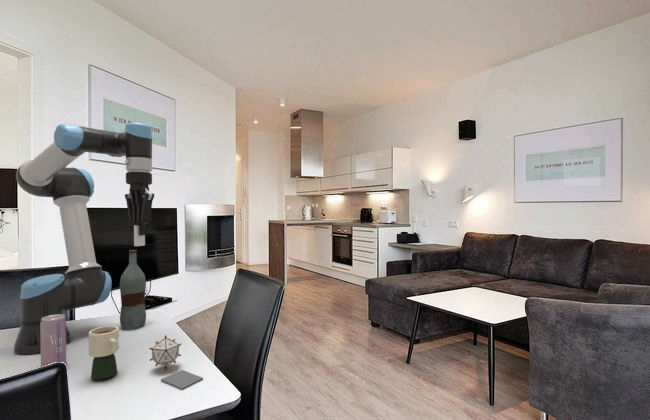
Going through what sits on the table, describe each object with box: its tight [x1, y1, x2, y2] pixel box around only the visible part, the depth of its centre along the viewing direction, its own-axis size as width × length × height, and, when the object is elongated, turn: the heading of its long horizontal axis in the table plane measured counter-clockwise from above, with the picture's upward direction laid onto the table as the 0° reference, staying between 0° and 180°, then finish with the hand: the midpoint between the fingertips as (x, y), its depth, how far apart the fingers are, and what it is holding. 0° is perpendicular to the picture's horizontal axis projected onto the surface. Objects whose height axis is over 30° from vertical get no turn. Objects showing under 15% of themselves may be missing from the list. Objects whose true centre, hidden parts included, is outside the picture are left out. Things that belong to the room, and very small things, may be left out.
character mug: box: [88, 325, 120, 381], centre depth 100 cm, size 11×7×13 cm, turn 60°
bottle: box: [119, 249, 147, 331], centre depth 142 cm, size 9×9×30 cm
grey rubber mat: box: [160, 369, 204, 391], centre depth 97 cm, size 9×7×1 cm
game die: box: [148, 334, 182, 370], centre depth 104 cm, size 9×8×10 cm
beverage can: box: [40, 313, 67, 368], centre depth 105 cm, size 6×6×15 cm
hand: (139, 245), depth 116 cm, fingers closed
